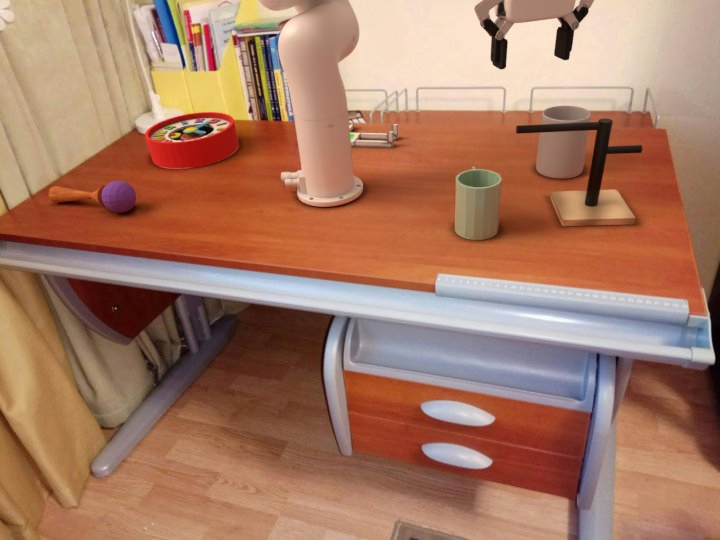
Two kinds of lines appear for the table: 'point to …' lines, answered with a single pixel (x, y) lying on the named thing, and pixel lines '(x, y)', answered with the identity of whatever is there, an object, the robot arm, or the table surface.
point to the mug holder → (590, 180)
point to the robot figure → (374, 138)
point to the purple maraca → (99, 195)
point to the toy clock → (192, 140)
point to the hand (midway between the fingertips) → (530, 62)
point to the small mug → (477, 203)
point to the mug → (562, 143)
